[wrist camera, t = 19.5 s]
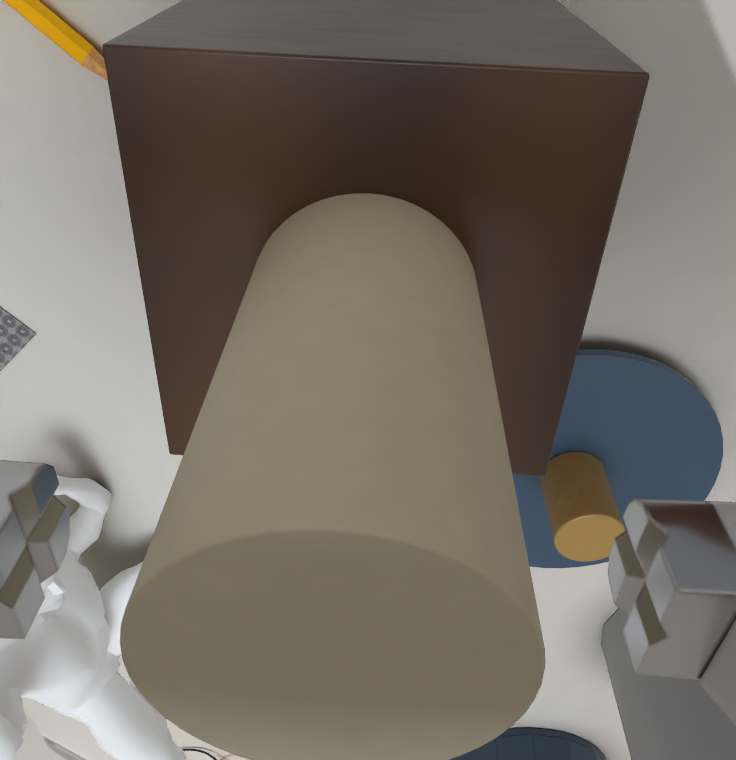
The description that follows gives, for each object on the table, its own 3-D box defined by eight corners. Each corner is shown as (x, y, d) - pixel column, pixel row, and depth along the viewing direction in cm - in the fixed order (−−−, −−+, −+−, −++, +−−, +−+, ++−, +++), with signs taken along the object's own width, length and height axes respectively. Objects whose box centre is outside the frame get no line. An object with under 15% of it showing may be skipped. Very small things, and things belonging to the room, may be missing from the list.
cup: (648, 687, 45) (703, 865, 37) (573, 629, 42) (614, 810, 34) (774, 635, 41) (866, 819, 33) (702, 567, 38) (784, 753, 30)
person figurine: (282, 823, 34) (-93, 738, 24) (133, 822, 41) (-205, 755, 31) (318, 570, 42) (50, 426, 32) (189, 605, 49) (-65, 496, 39)
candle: (492, 199, 14) (591, 543, 7) (462, 396, 17) (508, 786, 10) (245, 185, 14) (78, 513, 7) (258, 384, 17) (150, 764, 10)
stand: (542, -12, 22) (651, 73, 13) (495, 270, 28) (545, 477, 18) (231, -28, 22) (100, 43, 13) (249, 256, 28) (169, 454, 19)
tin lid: (725, 317, 29) (779, 389, 25) (706, 536, 37) (744, 620, 33) (403, 367, 31) (403, 442, 27) (448, 564, 39) (454, 646, 35)
